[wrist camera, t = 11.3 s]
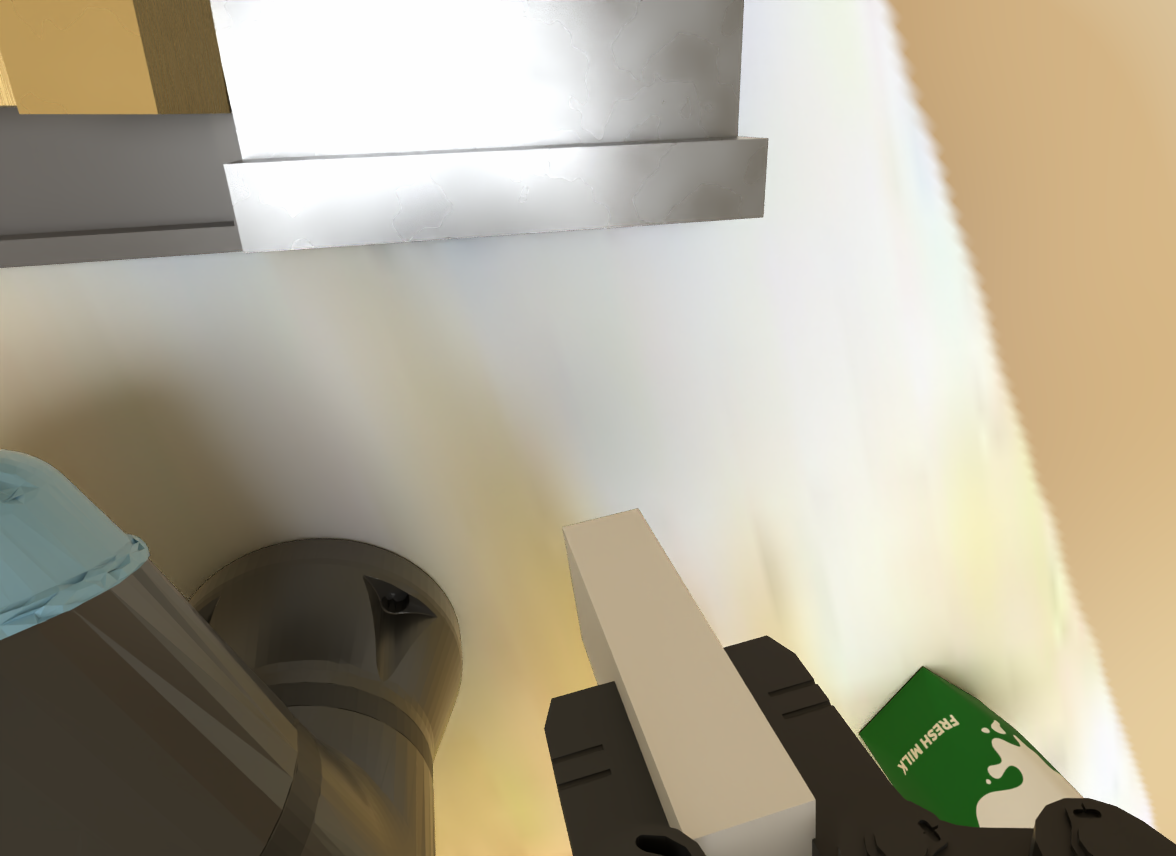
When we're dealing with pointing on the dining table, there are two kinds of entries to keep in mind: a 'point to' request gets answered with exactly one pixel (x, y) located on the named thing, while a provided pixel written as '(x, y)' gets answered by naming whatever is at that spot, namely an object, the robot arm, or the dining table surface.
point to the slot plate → (482, 118)
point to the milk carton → (961, 758)
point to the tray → (115, 186)
